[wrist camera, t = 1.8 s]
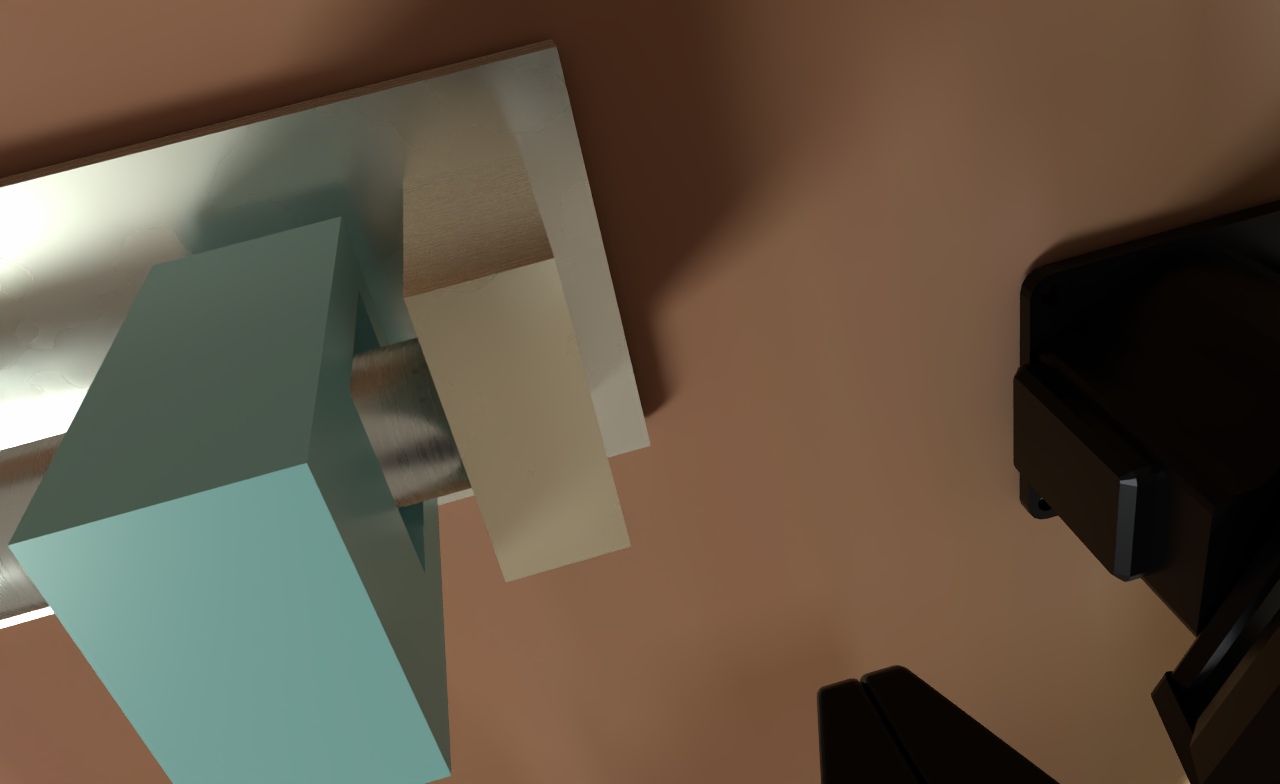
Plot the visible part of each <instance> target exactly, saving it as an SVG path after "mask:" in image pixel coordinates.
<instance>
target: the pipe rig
mask: <svg viewBox="0 0 1280 784" xmlns="http://www.w3.org/2000/svg"><path fill="white" fill-rule="evenodd" d="M340 216H341V217H342V220H343V222H344V225H345V228H346V230H347V233H348V235H349V238H350V241H351V243H352V246H353V249H354V251H355V254H356V257H357V259H358V262H359V264H360V267H361V270H362V272H363V275H364V278H365V280H366V283H367V286H368V288H369V291H370V293H371V296H372V299H373V301H374V304H375V307H376V309H377V312H378V315H379V317H380V320H381V322H382V325H383V328H384V330H385V333H386V336H387V338H388V341H389V344H390V345H387V346H384V347H380V348H376V349H372V350H369V351H365V352H361V353H358V354H354V355H353V361H352V373H351V385H350V395H351V397H352V399H353V402H354V404H355V407H356V409H357V411H358V414H359V416H360V419H361V421H362V423H363V426H364V428H365V431H366V433H367V435H368V438H369V440H370V443H371V445H372V448H373V450H374V452H375V455H376V457H377V460H378V462H379V464H380V467H381V469H382V472H383V474H384V476H385V479H386V481H387V484H388V486H389V488H390V491H391V493H392V496H393V498H394V500H395V503H396V505H397V508H398V509H399V508H402V507H406V506H409V505H413V504H416V503H420V502H424V501H427V500H431V499H434V498H437V499H438V505H441V504H445V503H448V502H452V501H455V500H459V499H462V498H466V497H470V496H473V495H475V498H476V501H477V503H478V506H479V509H480V512H481V515H482V517H483V520H484V523H485V526H486V528H487V531H488V534H489V537H490V540H491V542H492V545H493V548H494V551H495V553H496V556H497V559H498V562H499V564H500V567H501V570H502V573H503V576H504V578H505V581H506V582H509V581H513V580H516V579H520V578H523V577H527V576H530V575H534V574H537V573H540V572H544V571H547V570H551V569H554V568H558V567H561V566H565V565H568V564H572V563H575V562H579V561H582V560H586V559H589V558H593V557H596V556H600V555H603V554H606V553H610V552H613V551H617V550H620V549H624V548H627V547H631V544H630V540H629V537H628V533H627V529H626V525H625V522H624V518H623V514H622V510H621V507H620V503H619V499H618V495H617V491H616V488H615V484H614V480H613V476H612V473H611V469H610V465H609V461H608V457H612V456H615V455H619V454H622V453H626V452H629V451H633V450H636V449H640V448H644V447H647V446H651V445H650V441H649V436H648V432H647V428H646V424H645V419H644V415H643V411H642V407H641V402H640V398H639V394H638V390H637V385H636V381H635V377H634V373H633V368H632V364H631V360H630V356H629V351H628V347H627V343H626V339H625V335H624V330H623V326H622V322H621V318H620V313H619V309H618V305H617V301H616V296H615V292H614V288H613V284H612V279H611V275H610V271H609V267H608V262H607V258H606V254H605V250H604V245H603V241H602V237H601V233H600V228H599V224H598V220H597V216H596V211H595V207H594V203H593V199H592V194H591V190H590V186H589V182H588V177H587V173H586V169H585V165H584V160H583V156H582V152H581V148H580V143H579V139H578V135H577V131H576V126H575V122H574V118H573V114H572V109H571V105H570V101H569V97H568V92H567V88H566V84H565V80H564V75H563V71H562V67H561V63H560V58H559V54H558V50H557V46H556V45H555V43H554V41H553V39H549V40H545V41H541V42H537V43H533V44H529V45H525V46H521V47H517V48H513V49H509V50H505V51H501V52H497V53H493V54H489V55H486V56H482V57H478V58H474V59H470V60H466V61H462V62H458V63H454V64H450V65H446V66H442V67H438V68H434V69H430V70H426V71H422V72H418V73H414V74H410V75H407V76H403V77H399V78H395V79H391V80H387V81H383V82H379V83H375V84H371V85H367V86H363V87H359V88H355V89H351V90H347V91H343V92H339V93H335V94H331V95H328V96H324V97H320V98H316V99H312V100H308V101H304V102H300V103H296V104H292V105H288V106H284V107H280V108H276V109H272V110H268V111H264V112H260V113H256V114H252V115H249V116H245V117H241V118H237V119H233V120H229V121H225V122H221V123H217V124H213V125H209V126H205V127H201V128H197V129H193V130H189V131H185V132H181V133H177V134H173V135H170V136H166V137H162V138H158V139H154V140H150V141H146V142H142V143H138V144H134V145H130V146H126V147H122V148H118V149H114V150H110V151H106V152H102V153H98V154H94V155H91V156H87V157H83V158H79V159H75V160H71V161H67V162H63V163H59V164H55V165H51V166H47V167H43V168H39V169H35V170H31V171H27V172H23V173H19V174H15V175H12V176H8V177H4V178H0V629H1V628H4V627H8V626H11V625H15V624H18V623H22V622H26V621H29V620H33V619H36V618H40V617H43V616H47V615H50V614H54V612H53V610H52V609H51V607H50V606H49V605H48V603H47V602H46V600H45V599H44V597H43V596H42V594H41V593H40V592H39V590H38V589H37V587H36V586H35V584H34V583H33V581H32V580H31V579H30V577H29V576H28V574H27V573H26V571H25V570H24V569H23V567H22V566H21V564H20V563H19V561H18V560H17V558H16V557H15V556H14V554H13V553H12V551H11V550H10V548H9V547H8V544H9V542H10V540H11V538H12V536H13V534H14V532H15V530H16V528H17V526H18V524H19V523H20V521H21V519H22V517H23V515H24V513H25V511H26V509H27V507H28V505H29V503H30V501H31V499H32V497H33V496H34V494H35V492H36V490H37V488H38V486H39V484H40V482H41V480H42V478H43V476H44V474H45V472H46V470H47V468H48V467H49V465H50V463H51V461H52V459H53V457H54V455H55V453H56V451H57V449H58V447H59V445H60V443H61V441H62V439H63V438H64V436H65V434H66V432H67V430H68V428H69V426H70V424H71V422H72V420H73V418H74V416H75V414H76V412H77V411H78V409H79V407H80V405H81V403H82V401H83V399H84V397H85V395H86V393H87V391H88V389H89V387H90V385H91V383H92V382H93V380H94V378H95V376H96V374H97V372H98V370H99V368H100V366H101V364H102V362H103V360H104V358H105V356H106V355H107V353H108V351H109V349H110V347H111V345H112V343H113V341H114V339H115V337H116V335H117V333H118V331H119V329H120V327H121V326H122V324H123V322H124V320H125V318H126V316H127V314H128V312H129V310H130V308H131V306H132V304H133V302H134V300H135V298H136V297H137V295H138V293H139V291H140V289H141V287H142V285H143V283H144V281H145V279H146V277H147V275H148V273H149V271H150V270H151V268H152V266H153V265H157V264H160V263H164V262H168V261H172V260H176V259H180V258H183V257H187V256H191V255H195V254H199V253H203V252H206V251H210V250H214V249H218V248H222V247H226V246H229V245H233V244H237V243H241V242H245V241H249V240H252V239H256V238H260V237H264V236H268V235H272V234H275V233H279V232H283V231H287V230H291V229H295V228H298V227H302V226H306V225H310V224H314V223H317V222H321V221H325V220H329V219H333V218H337V217H340Z"/></svg>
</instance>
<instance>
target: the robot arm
mask: <svg viewBox="0 0 1280 784" xmlns="http://www.w3.org/2000/svg"><path fill="white" fill-rule="evenodd" d="M1052 284H1054V287H1053V290H1052V291H1051V292H1050V294H1049V295H1047V296H1045V297H1044V298H1041V297H1042V294H1043V292H1044V290H1045V289H1046V288H1047V287H1048V286H1050V285H1052ZM1013 407H1014V466H1015V468H1016V469H1017V470H1018V471H1019V472H1020V501H1021V504H1022V505H1023V506H1024V507H1025V509H1026V510H1027V511H1028V512H1029V513H1030V514H1031V515H1032V516H1033V517H1034V518H1037V519H1047V518H1051V517H1054V516H1059V517H1060V518H1061V519H1062V520H1063V521H1064V522H1065V523H1066V525H1067V526H1068V527H1069V528H1070V529H1071V530H1072V531H1073V532H1074V533H1075V535H1076V536H1077V537H1078V538H1079V539H1080V540H1081V541H1082V542H1083V543H1084V545H1085V546H1086V547H1087V548H1088V549H1089V550H1090V551H1091V552H1092V553H1093V555H1094V556H1095V557H1096V558H1097V559H1098V560H1099V561H1100V562H1101V563H1102V565H1103V566H1104V567H1105V568H1106V569H1107V570H1108V571H1109V572H1110V573H1111V574H1112V575H1113V576H1115V577H1117V578H1119V579H1120V580H1122V581H1124V582H1127V581H1131V580H1134V579H1138V578H1141V579H1142V580H1143V581H1144V582H1145V583H1146V584H1147V585H1148V586H1149V587H1150V588H1151V589H1152V591H1153V592H1154V593H1155V594H1156V595H1157V596H1158V597H1159V598H1160V599H1161V600H1162V601H1163V602H1164V603H1165V604H1166V606H1167V607H1168V608H1169V609H1170V610H1171V611H1172V612H1173V613H1174V614H1175V615H1176V616H1177V617H1178V618H1179V620H1180V621H1181V622H1182V623H1183V624H1184V625H1185V626H1186V627H1187V628H1188V629H1189V630H1190V631H1191V632H1192V633H1193V635H1194V636H1195V637H1196V640H1195V641H1194V642H1193V644H1192V645H1191V647H1190V648H1189V650H1188V651H1187V652H1186V654H1185V655H1184V657H1183V658H1182V660H1181V661H1180V662H1179V664H1178V665H1177V667H1176V668H1175V670H1174V671H1169V672H1166V673H1165V674H1164V676H1163V677H1162V679H1161V680H1160V682H1159V683H1158V684H1157V686H1156V687H1155V689H1154V690H1153V692H1152V693H1151V697H1152V699H1153V702H1154V704H1155V706H1156V708H1157V710H1158V713H1159V715H1160V717H1161V719H1162V722H1163V724H1164V726H1165V728H1166V730H1167V733H1168V735H1169V737H1170V739H1171V742H1172V744H1173V746H1174V748H1175V750H1176V753H1177V755H1178V757H1179V759H1180V762H1181V764H1182V766H1183V768H1184V770H1185V773H1186V775H1187V777H1188V779H1189V782H1190V783H1191V784H1280V200H1278V201H1275V202H1271V203H1268V204H1264V205H1260V206H1257V207H1253V208H1250V209H1246V210H1242V211H1239V212H1235V213H1231V214H1228V215H1224V216H1221V217H1217V218H1213V219H1210V220H1206V221H1203V222H1199V223H1195V224H1192V225H1188V226H1185V227H1181V228H1177V229H1174V230H1170V231H1166V232H1163V233H1159V234H1156V235H1152V236H1148V237H1145V238H1141V239H1138V240H1134V241H1130V242H1127V243H1123V244H1120V245H1116V246H1112V247H1109V248H1105V249H1101V250H1098V251H1094V252H1091V253H1087V254H1083V255H1080V256H1076V257H1073V258H1069V259H1065V260H1062V261H1058V262H1054V263H1051V264H1047V265H1044V266H1041V267H1039V268H1037V269H1035V270H1033V271H1032V272H1031V273H1030V274H1029V275H1028V276H1027V277H1026V279H1025V280H1024V282H1023V284H1022V287H1021V292H1020V367H1019V368H1018V370H1017V372H1016V374H1015V376H1014V380H1013ZM1041 498H1043V499H1041ZM1040 499H1041V500H1040ZM817 712H818V731H819V751H820V771H821V784H1060V783H1058V782H1057V781H1056V780H1054V779H1053V778H1052V777H1050V776H1049V775H1048V774H1046V773H1045V772H1044V771H1042V770H1041V769H1040V768H1038V767H1037V766H1036V765H1034V764H1033V763H1032V762H1030V761H1029V760H1028V759H1026V758H1025V757H1024V756H1022V755H1021V754H1020V753H1018V752H1017V751H1016V750H1015V749H1013V748H1012V747H1011V746H1009V745H1008V744H1007V743H1005V742H1004V741H1003V740H1001V739H1000V738H999V737H997V736H996V735H995V734H993V733H992V732H991V731H989V730H988V729H987V728H985V727H984V726H983V725H981V724H980V723H979V722H977V721H976V720H975V719H973V718H972V717H971V716H969V715H968V714H967V713H965V712H964V711H963V710H961V709H960V708H959V707H957V706H956V705H955V704H953V703H952V702H951V701H949V700H948V699H947V698H945V697H944V696H943V695H942V694H940V693H939V692H938V691H936V690H935V689H934V688H932V687H931V686H930V685H928V684H927V683H926V682H924V681H923V680H922V679H920V678H919V677H918V676H916V675H915V674H914V673H912V672H911V671H910V670H908V669H907V668H905V667H903V666H899V665H895V666H890V667H887V668H884V669H880V670H877V671H874V672H870V673H867V674H865V675H863V676H862V677H861V679H860V682H859V681H858V680H857V679H854V678H852V679H847V680H844V681H840V682H837V683H834V684H830V685H827V686H823V687H821V688H820V689H819V690H818V692H817Z"/></svg>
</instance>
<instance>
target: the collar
mask: <svg viewBox="0 0 1280 784" xmlns="http://www.w3.org/2000/svg"><path fill="white" fill-rule="evenodd" d="M387 345H390V344H389V341H388V338H387V336H386V333H385V330H384V328H383V325H382V322H381V320H380V317H379V315H378V312H377V309H376V307H375V304H374V301H373V299H372V296H371V293H370V291H369V288H368V286H367V283H366V280H365V278H364V275H363V272H362V270H361V267H360V264H359V262H358V259H357V257H356V254H355V251H354V249H353V246H352V243H351V241H350V238H349V235H348V233H347V230H346V228H345V225H344V222H343V220H342V217H341V216H340V217H337V218H333V219H329V220H325V221H321V222H317V223H314V224H310V225H306V226H302V227H298V228H295V229H291V230H287V231H283V232H279V233H275V234H272V235H268V236H264V237H260V238H256V239H252V240H249V241H245V242H241V243H237V244H233V245H229V246H226V247H222V248H218V249H214V250H210V251H206V252H203V253H199V254H195V255H191V256H187V257H183V258H180V259H176V260H172V261H168V262H164V263H160V264H157V265H153V266H152V268H151V270H150V271H149V273H148V275H147V277H146V279H145V281H144V283H143V285H142V287H141V289H140V291H139V293H138V295H137V297H136V298H135V300H134V302H133V304H132V306H131V308H130V310H129V312H128V314H127V316H126V318H125V320H124V322H123V324H122V326H121V327H120V329H119V331H118V333H117V335H116V337H115V339H114V341H113V343H112V345H111V347H110V349H109V351H108V353H107V355H106V356H105V358H104V360H103V362H102V364H101V366H100V368H99V370H98V372H97V374H96V376H95V378H94V380H93V382H92V383H91V385H90V387H89V389H88V391H87V393H86V395H85V397H84V399H83V401H82V403H81V405H80V407H79V409H78V411H77V412H76V414H75V416H74V418H73V420H72V422H71V424H70V426H69V428H68V430H67V432H66V434H65V436H64V438H63V439H62V441H61V443H60V445H59V447H58V449H57V451H56V453H55V455H54V457H53V459H52V461H51V463H50V465H49V467H48V468H47V470H46V472H45V474H44V476H43V478H42V480H41V482H40V484H39V486H38V488H37V490H36V492H35V494H34V496H33V497H32V499H31V501H30V503H29V505H28V507H27V509H26V511H25V513H24V515H23V517H22V519H21V521H20V523H19V524H18V526H17V528H16V530H15V532H14V534H13V536H12V538H11V540H10V542H9V544H8V547H9V548H10V550H11V551H12V553H13V554H14V556H15V557H16V558H17V560H18V561H19V563H20V564H21V566H22V567H23V569H24V570H25V571H26V573H27V574H28V576H29V577H30V579H31V580H32V581H33V583H34V584H35V586H36V587H37V589H38V590H39V592H40V593H41V594H42V596H43V597H44V599H45V600H46V602H47V603H48V605H49V606H50V607H51V609H52V610H53V612H54V613H55V615H56V616H57V617H58V619H59V620H60V622H61V623H62V625H63V626H64V628H65V629H66V630H67V632H68V633H69V635H70V636H71V638H72V639H73V640H74V642H75V643H76V645H77V646H78V648H79V649H80V651H81V652H82V653H83V655H84V656H85V658H86V659H87V661H88V662H89V663H90V665H91V666H92V668H93V669H94V671H95V672H96V674H97V675H98V676H99V678H100V679H101V681H102V682H103V684H104V685H105V686H106V688H107V689H108V691H109V692H110V694H111V695H112V697H113V698H114V699H115V701H116V702H117V704H118V705H119V707H120V708H121V710H122V711H123V712H124V714H125V715H126V717H127V718H128V720H129V721H130V722H131V724H132V725H133V727H134V728H135V730H136V731H137V733H138V734H139V735H140V737H141V738H142V740H143V741H144V743H145V744H146V745H147V747H148V748H149V750H150V751H151V753H152V754H153V756H154V757H155V758H156V760H157V761H158V763H159V764H160V766H161V767H162V768H163V770H164V771H165V773H166V774H167V776H168V777H169V779H170V780H171V781H172V783H173V784H425V783H428V782H432V781H435V780H439V779H442V778H445V777H449V776H451V756H450V737H449V717H448V697H447V677H446V657H445V638H444V618H443V598H442V578H441V558H440V538H439V519H438V499H437V498H434V499H431V500H427V501H424V502H420V503H416V504H413V505H409V506H406V507H402V508H399V509H398V508H397V505H396V503H395V500H394V498H393V496H392V493H391V491H390V488H389V486H388V484H387V481H386V479H385V476H384V474H383V472H382V469H381V467H380V464H379V462H378V460H377V457H376V455H375V452H374V450H373V448H372V445H371V443H370V440H369V438H368V435H367V433H366V431H365V428H364V426H363V423H362V421H361V419H360V416H359V414H358V411H357V409H356V407H355V404H354V402H353V399H352V397H351V395H350V385H351V373H352V361H353V355H354V354H358V353H361V352H365V351H369V350H372V349H376V348H380V347H384V346H387Z"/></svg>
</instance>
